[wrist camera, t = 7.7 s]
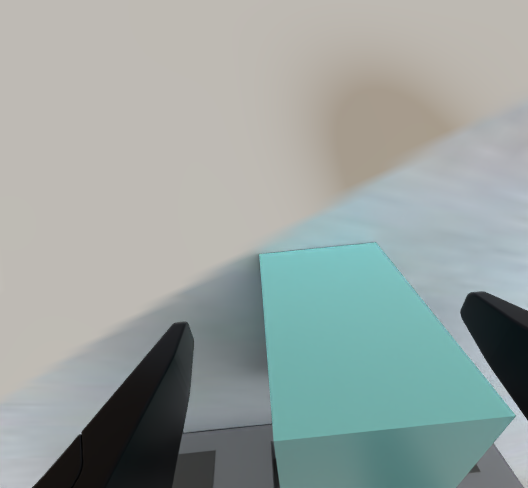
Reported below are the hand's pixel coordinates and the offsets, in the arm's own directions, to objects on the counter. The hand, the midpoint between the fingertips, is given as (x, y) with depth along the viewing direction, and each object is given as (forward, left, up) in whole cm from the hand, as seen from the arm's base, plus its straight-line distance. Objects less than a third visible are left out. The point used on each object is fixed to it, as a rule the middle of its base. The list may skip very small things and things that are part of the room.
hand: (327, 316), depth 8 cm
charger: (0, +2, -2) cm, 3 cm away
